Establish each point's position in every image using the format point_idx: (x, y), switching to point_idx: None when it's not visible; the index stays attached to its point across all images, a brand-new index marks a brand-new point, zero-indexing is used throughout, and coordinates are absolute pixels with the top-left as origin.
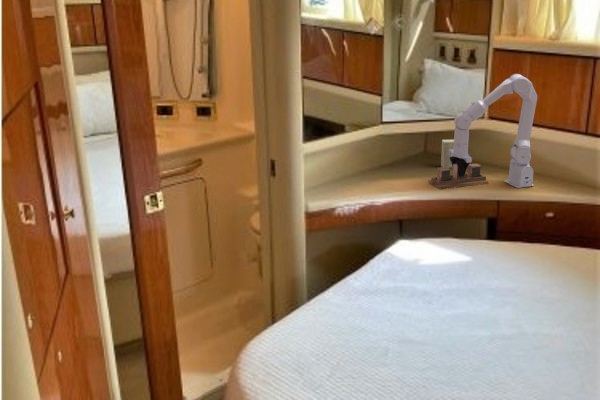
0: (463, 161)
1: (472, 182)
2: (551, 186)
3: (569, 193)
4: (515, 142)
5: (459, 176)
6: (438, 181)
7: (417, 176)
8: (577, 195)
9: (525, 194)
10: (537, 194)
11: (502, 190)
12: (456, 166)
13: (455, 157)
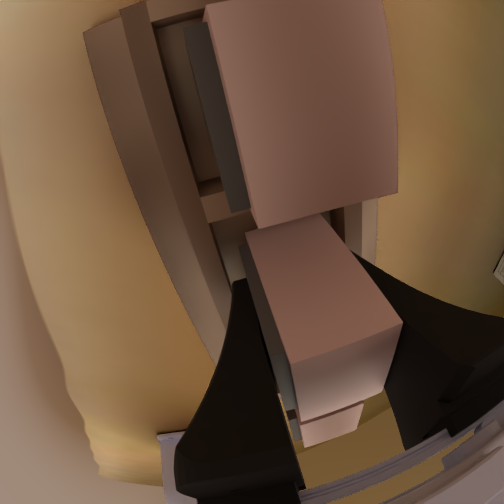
0: (195, 498)
1: (212, 331)
2: None
3: (130, 472)
4: None
5: (232, 283)
6: (154, 4)
7: (474, 5)
8: (118, 474)
9: (89, 431)
10: (100, 446)
11: (117, 403)
12: (307, 345)
13: (453, 411)
